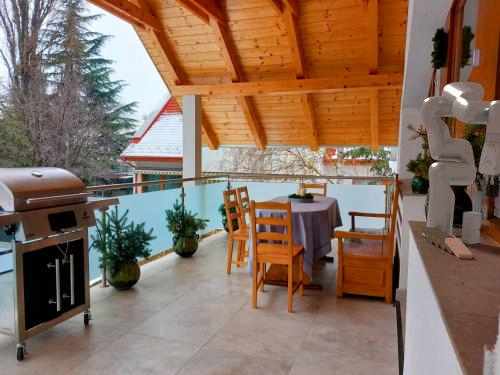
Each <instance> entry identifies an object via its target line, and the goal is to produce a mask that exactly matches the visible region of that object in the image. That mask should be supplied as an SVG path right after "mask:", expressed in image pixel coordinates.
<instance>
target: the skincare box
mask: <svg viewBox="0 0 500 375" xmlns="http://www.w3.org/2000/svg"><path fill="white" fill-rule="evenodd" d="M481 221H482V212H476V211H463V214H462V226H461V227H462V228H461V236H460V237H461V238H460V240H461V241H462V242H463V244H468V245H473V244H474V245H475V244H479V243H480V234H481V223H482V222H481Z"/></svg>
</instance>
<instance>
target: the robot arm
mask: <svg viewBox="0 0 500 375" xmlns="http://www.w3.org/2000/svg"><path fill="white" fill-rule="evenodd" d="M484 95H485V89H484V87H483V85H482V84H480V83H478V82H465V81H463V82H462V81H461V82H458V81H457V82H456V81H454V82H450V83H448V84H447V85H445V86H444V88H443V89H442V91H441V95H436V96H435V95H433V96H430V97H427V98H426V99H424V100H423V102H422V104H421V109H420V111H421V112H420V114H421V115H420V116H421V120H422V123H423V126H424V128H425V131H426V136H427V141H428V142H427V144H428V149H429V154H430V157H431V158H432V159H433V160H434V161H435V160H436V162H433V163H432V164H431V165H430V166H429V168H428V181H429V183H428V184H429V192H428V194H429V195H428V209H427V220H426V227H434V229H435V230H440V231H441V232H446V234H447V235H452V236H453V237H454V238H457V237H456V235H455V234H452V233H453V222H454V212H455V211H454V210H455V202H456V201H455V200H456V196H455V193H454V190H453V189H452V188H451V186H470V185H472V184H473V183H474V182H475V180H476V177H477V170H476V164H475V156H474V151H473V148H472V145H471V143H470V142H469V140H467V139H465V138H454V137H451V135H450V128H449V126H448V125H447V123H446V122H445V121H444V120H442V118H441V117H444V118H445V117H447V118H455V119H457V120H459V122H461V123H462V124H463V123H464V124H468V125H469V124H470V125H486V131H485V139H484V143H483V147H482V149H481V150H482V151H481V155H480V161H479V163H478V164H479V166H478V172H479V173H480V174H482V177H484V178H485V184H486V187H485V194H484V195H485V196H486V197H488V198H498V197H499V192H500V99H497V100H493V101H483V99H484ZM421 235H422V236H423V237H425V238H426V236H425V235H424V233H423V232H422V231H421Z"/></svg>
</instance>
